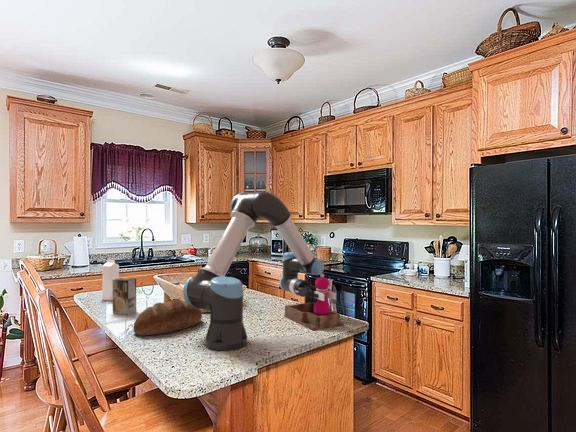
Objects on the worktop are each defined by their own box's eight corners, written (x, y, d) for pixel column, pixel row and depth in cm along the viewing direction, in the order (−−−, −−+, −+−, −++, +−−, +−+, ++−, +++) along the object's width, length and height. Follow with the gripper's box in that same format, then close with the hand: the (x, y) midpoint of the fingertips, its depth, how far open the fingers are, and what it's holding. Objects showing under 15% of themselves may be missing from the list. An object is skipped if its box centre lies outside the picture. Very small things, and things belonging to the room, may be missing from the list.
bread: (209, 323, 159) (210, 297, 159) (146, 340, 136) (146, 310, 136) (188, 317, 169) (188, 292, 169) (125, 332, 146) (126, 303, 147)
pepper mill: (329, 323, 153) (329, 275, 153) (312, 322, 155) (312, 274, 155) (331, 318, 160) (331, 272, 160) (314, 317, 162) (314, 272, 162)
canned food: (180, 306, 190) (180, 282, 190) (164, 307, 187) (164, 283, 187) (178, 302, 197) (178, 280, 197) (163, 303, 194) (163, 281, 194)
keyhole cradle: (312, 330, 149) (312, 318, 149) (284, 316, 170) (284, 305, 170) (344, 325, 157) (344, 313, 157) (313, 312, 178) (313, 302, 178)
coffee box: (137, 311, 178) (137, 278, 178) (128, 314, 172) (128, 280, 172) (120, 310, 180) (121, 277, 181) (111, 313, 174) (111, 279, 174)
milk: (111, 297, 209) (111, 258, 209) (118, 298, 206) (119, 259, 207) (101, 299, 203) (102, 259, 204) (109, 300, 201) (110, 260, 201)
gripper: (316, 293, 177) (346, 303, 157) (283, 297, 169) (311, 308, 148) (316, 278, 178) (346, 285, 157) (283, 281, 169) (311, 289, 148)
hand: (329, 296), depth 153 cm, fingers closed on pepper mill, 5 cm apart
